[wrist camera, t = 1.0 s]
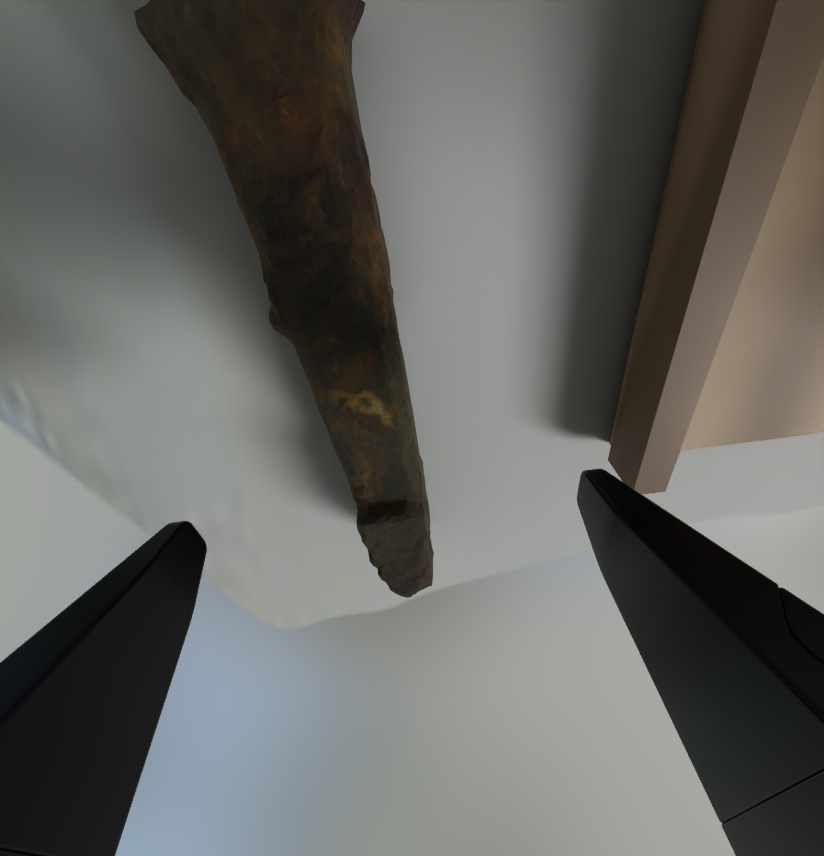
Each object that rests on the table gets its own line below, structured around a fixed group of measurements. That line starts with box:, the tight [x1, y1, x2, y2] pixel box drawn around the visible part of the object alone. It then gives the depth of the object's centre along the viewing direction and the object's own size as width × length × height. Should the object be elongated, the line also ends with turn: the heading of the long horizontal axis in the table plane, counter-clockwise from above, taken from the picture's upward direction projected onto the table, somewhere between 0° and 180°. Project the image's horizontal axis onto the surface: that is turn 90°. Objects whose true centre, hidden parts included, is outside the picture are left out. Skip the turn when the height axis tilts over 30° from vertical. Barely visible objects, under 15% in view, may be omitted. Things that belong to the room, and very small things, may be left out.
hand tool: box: [134, 0, 434, 598], centre depth 13 cm, size 19×4×5 cm, turn 7°
